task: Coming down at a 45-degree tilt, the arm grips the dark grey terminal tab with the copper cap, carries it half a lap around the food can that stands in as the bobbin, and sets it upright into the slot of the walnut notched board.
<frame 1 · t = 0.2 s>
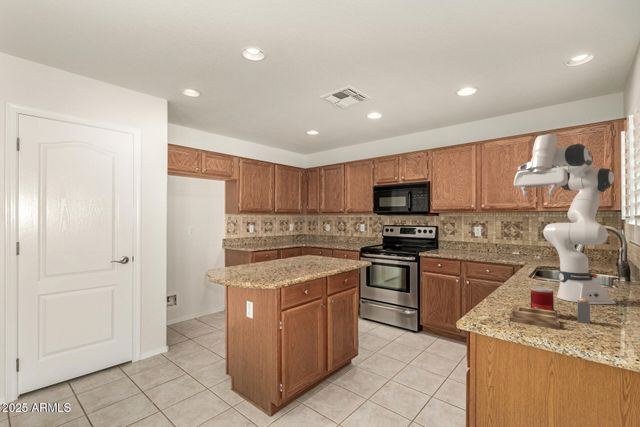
hand: (536, 195, 135), 52 cm above the countertop, tool tilted 20°, fingers open, 8 cm apart
canned food: (542, 314, 131), on the countertop
lead tab: (583, 321, 121), on the countertop
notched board: (534, 321, 122), on the countertop
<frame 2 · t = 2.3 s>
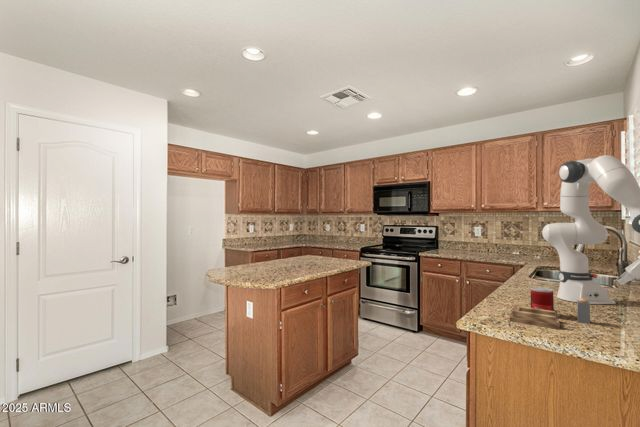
hand: (618, 282, 114), 17 cm above the countertop, tool tilted 45°, fingers open, 8 cm apart
nothing on the countertop moved.
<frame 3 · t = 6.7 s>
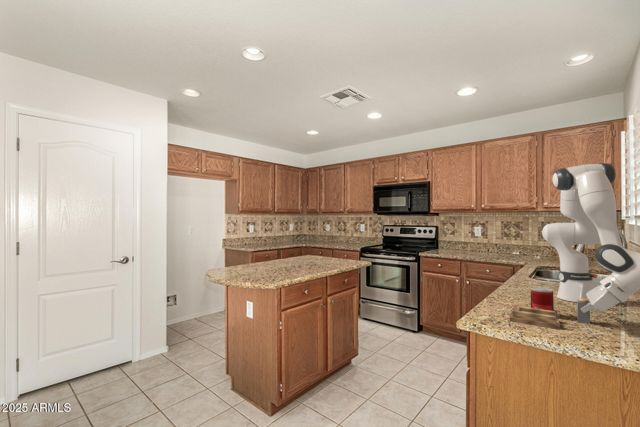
hand: (581, 309, 121), 5 cm above the countertop, tool tilted 45°, fingers closed on lead tab, 4 cm apart
lead tab: (583, 321, 121), on the countertop, touching gripper
everything else where it was.
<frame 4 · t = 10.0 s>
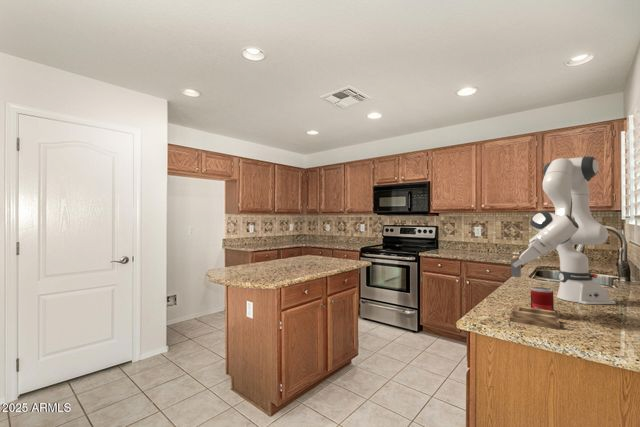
hand: (514, 265, 139), 20 cm above the countertop, tool tilted 45°, fingers closed on lead tab, 4 cm apart
lead tab: (516, 276, 138), point 15 cm above the countertop, touching gripper
everything else where it was.
when the fingers open (8 cm above the countertop, at t = 13.7 s): lead tab drops 2 cm, resting on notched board.
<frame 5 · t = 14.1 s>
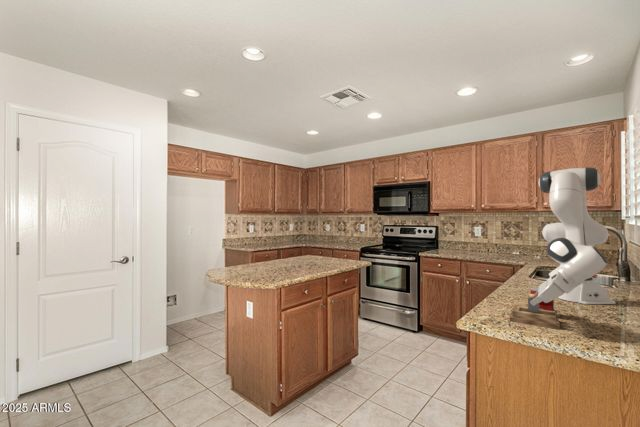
hand: (531, 301, 123), 8 cm above the countertop, tool tilted 45°, fingers open, 7 cm apart
lead tab: (533, 317, 122), point 1 cm above the countertop, touching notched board
everything else where it was.
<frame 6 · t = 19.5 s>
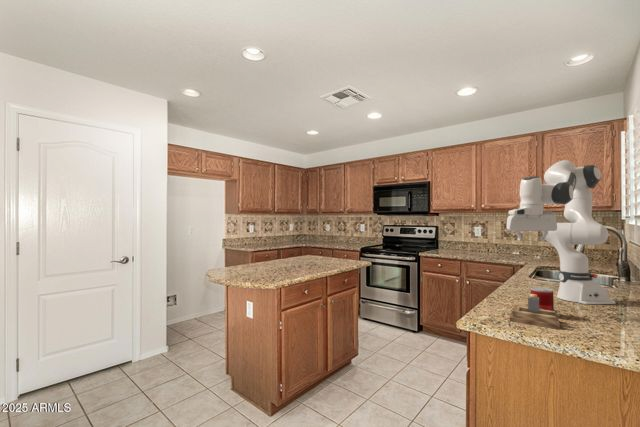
hand: (531, 240, 141), 31 cm above the countertop, tool pointing down, fingers open, 8 cm apart
nothing on the countertop moved.
at the end: lead tab inside the target area on the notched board (0.1 cm from its centre), point 1.5 cm above the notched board's base; lead tab tilted 0°; the gripper is holding nothing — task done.
